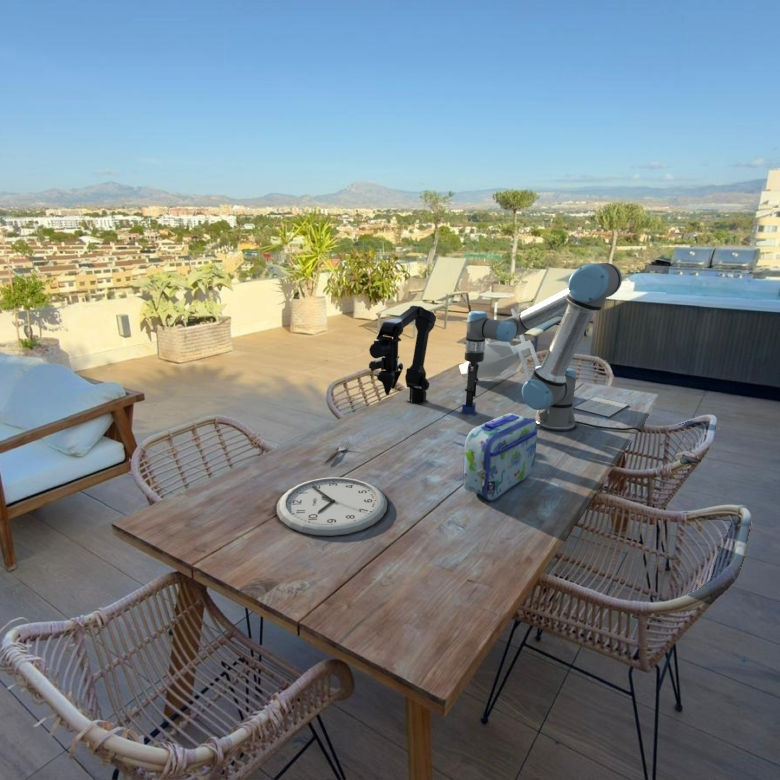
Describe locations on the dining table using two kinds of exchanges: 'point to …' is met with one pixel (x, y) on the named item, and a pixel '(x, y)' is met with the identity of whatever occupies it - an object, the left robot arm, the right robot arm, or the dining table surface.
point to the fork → (338, 451)
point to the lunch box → (499, 455)
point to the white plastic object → (502, 357)
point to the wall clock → (331, 506)
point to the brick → (468, 408)
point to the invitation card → (601, 406)
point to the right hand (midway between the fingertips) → (470, 401)
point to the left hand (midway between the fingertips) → (390, 391)
